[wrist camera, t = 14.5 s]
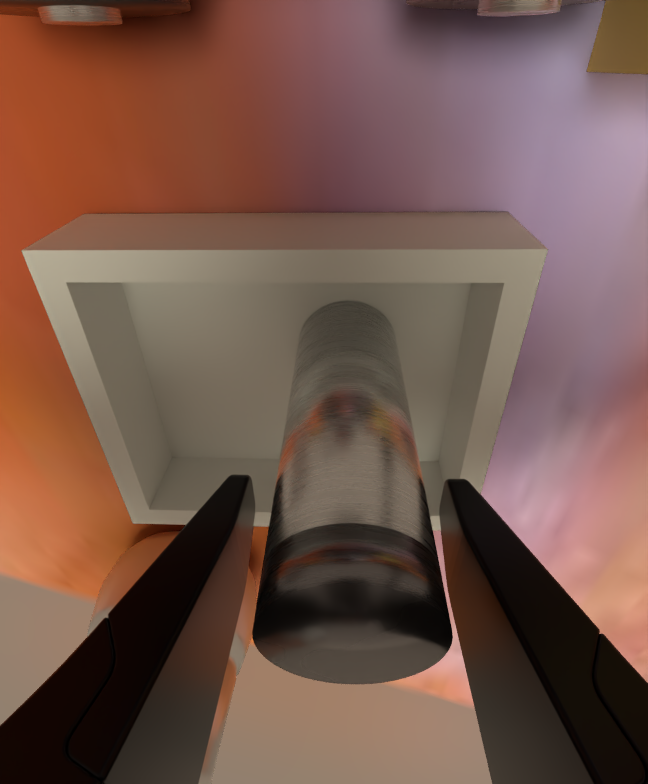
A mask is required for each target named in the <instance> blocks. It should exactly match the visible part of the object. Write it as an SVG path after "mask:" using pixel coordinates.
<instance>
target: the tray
mask: <svg viewBox="0 0 648 784" xmlns="http://www.w3.org/2000/svg"><path fill="white" fill-rule="evenodd" d="M21 251H22V253H23V256H24V258H25V261H26V263H27V265H28V268H29V270H30V273H31V275H32V278H33V280H34V283H35V285H36V287H37V290H38V292H39V295H40V297H41V300H42V302H43V305H44V307H45V309H46V312H47V314H48V317H49V319H50V322H51V324H52V327H53V329H54V332H55V334H56V336H57V339H58V341H59V344H60V346H61V349H62V351H63V354H64V356H65V358H66V361H67V363H68V366H69V368H70V371H71V373H72V376H73V378H74V380H75V383H76V385H77V388H78V390H79V393H80V395H81V398H82V400H83V403H84V405H85V407H86V410H87V412H88V415H89V417H90V420H91V422H92V425H93V427H94V429H95V432H96V434H97V437H98V439H99V442H100V444H101V447H102V449H103V451H104V454H105V456H106V459H107V461H108V464H109V466H110V469H111V471H112V474H113V476H114V478H115V481H116V483H117V486H118V488H119V491H120V493H121V496H122V498H123V500H124V503H125V505H126V508H127V510H128V513H129V515H130V518H131V520H132V522H133V524H175V525H186V524H187V523H188V522H189V521H190V520H191V519H192V517H193V516H194V515H195V514H196V513H197V512H198V511H199V509H200V508H201V507H202V506H203V505H204V504H205V503H206V501H207V500H208V499H209V498H210V497H211V496H212V495H213V493H214V492H215V491H216V490H217V489H218V488H219V487H220V486H221V484H222V483H223V482H224V481H225V480H226V479H227V478H228V477H229V476H230V475H233V474H238V475H249V476H250V477H251V479H252V484H253V491H254V497H255V518H254V526H264V527H269V524H270V517H271V511H272V505H273V498H274V492H275V486H276V480H277V473H278V467H279V461H280V455H281V448H282V442H283V436H284V429H285V423H286V417H287V411H288V404H289V398H290V392H291V385H292V379H293V373H294V367H295V360H296V354H297V348H298V342H299V336H300V332H301V329H302V327H303V325H304V323H305V321H306V320H307V319H308V317H309V316H310V315H311V314H312V313H314V312H315V311H316V310H317V309H319V308H321V307H322V306H325V305H327V304H329V303H333V302H337V301H345V300H350V301H358V302H363V303H366V304H368V305H371V306H373V307H374V308H376V309H378V310H379V311H380V312H381V313H383V314H384V315H385V316H386V318H387V319H388V320H389V322H390V323H391V325H392V327H393V329H394V333H395V337H396V342H397V347H398V353H399V358H400V363H401V368H402V373H403V379H404V384H405V389H406V394H407V399H408V405H409V410H410V415H411V420H412V425H413V431H414V436H415V441H416V446H417V451H418V457H419V462H420V467H421V472H422V477H423V483H424V488H425V493H426V498H427V503H428V509H429V514H430V519H431V524H432V529H433V530H441V526H440V517H439V507H440V501H441V497H442V492H443V487H444V483H445V481H446V480H447V479H466V480H468V481H469V482H470V483H471V484H472V485H473V487H474V488H475V489H476V490H477V491H478V492H479V493H480V494H481V491H482V487H483V483H484V480H485V476H486V473H487V469H488V465H489V462H490V458H491V454H492V451H493V447H494V444H495V440H496V436H497V433H498V429H499V425H500V422H501V418H502V415H503V411H504V407H505V404H506V400H507V396H508V393H509V389H510V385H511V382H512V378H513V375H514V371H515V367H516V364H517V360H518V356H519V353H520V349H521V346H522V342H523V338H524V335H525V331H526V327H527V324H528V320H529V317H530V313H531V309H532V306H533V302H534V298H535V295H536V291H537V287H538V284H539V280H540V277H541V273H542V269H543V266H544V262H545V258H546V255H547V251H548V249H547V248H546V247H545V246H544V245H543V244H542V243H541V242H540V241H539V240H537V239H536V238H535V237H534V236H533V235H532V234H531V233H530V232H529V231H528V230H527V229H526V228H525V227H523V226H522V225H521V224H520V223H519V222H518V221H517V220H516V219H515V218H514V217H513V216H512V215H511V214H510V213H508V212H334V213H145V214H83V215H81V216H79V217H78V218H76V219H74V220H73V221H71V222H69V223H67V224H66V225H64V226H62V227H61V228H59V229H57V230H55V231H54V232H52V233H50V234H49V235H47V236H45V237H43V238H42V239H40V240H38V241H37V242H35V243H33V244H31V245H30V246H28V247H26V248H25V249H23V250H21Z"/></svg>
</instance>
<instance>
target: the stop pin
mask: <svg viewBox="0 0 648 784" xmlns="http://www.w3.org/2000/svg"><path fill="white" fill-rule="evenodd" d="M252 635H253V640H254V643H255V645H256V647H257V649H258V650H259V652H260V653H261V654H262V655H263V656H264V657H265V658H266V659H268V660H269V661H270V662H272V663H273V664H275V665H276V666H278V667H280V668H282V669H284V670H286V671H288V672H290V673H293V674H296V675H298V676H302V677H305V678H309V679H313V680H317V681H323V682H329V683H338V684H373V683H382V682H388V681H394V680H398V679H402V678H406V677H409V676H412V675H415V674H417V673H420V672H422V671H424V670H426V669H428V668H430V667H431V666H433V665H434V664H436V663H437V662H438V661H440V660H441V659H442V658H443V657H444V656H445V654H446V653H447V652H448V650H449V648H450V646H451V644H452V638H453V636H452V628H451V623H450V618H449V613H448V607H447V602H446V597H445V592H444V587H443V581H442V576H441V571H440V566H439V561H438V555H437V550H436V545H435V540H434V535H433V529H432V524H431V519H430V514H429V509H428V503H427V498H426V493H425V488H424V483H423V477H422V472H421V467H420V462H419V457H418V451H417V446H416V441H415V436H414V431H413V425H412V420H411V415H410V410H409V405H408V399H407V394H406V389H405V384H404V379H403V373H402V368H401V363H400V358H399V353H398V347H397V342H396V337H395V333H394V329H393V327H392V325H391V323H390V322H389V320H388V319H387V318H386V316H385V315H384V314H383V313H381V312H380V311H379V310H378V309H376V308H374V307H373V306H371V305H368V304H366V303H363V302H358V301H350V300H345V301H337V302H333V303H329V304H327V305H325V306H322V307H321V308H319V309H317V310H316V311H315V312H314V313H312V314H311V315H310V316H309V317H308V319H307V320H306V321H305V323H304V325H303V327H302V329H301V332H300V336H299V342H298V348H297V354H296V360H295V367H294V373H293V379H292V385H291V392H290V398H289V404H288V411H287V417H286V423H285V429H284V436H283V442H282V448H281V455H280V461H279V467H278V473H277V480H276V486H275V492H274V498H273V505H272V511H271V517H270V524H269V530H268V536H267V542H266V549H265V555H264V561H263V568H262V574H261V580H260V586H259V593H258V599H257V605H256V612H255V618H254V624H253V630H252Z"/></svg>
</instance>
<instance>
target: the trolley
mask: <svg viewBox="0 0 648 784" xmlns="http://www.w3.org/2000/svg"><path fill="white" fill-rule="evenodd" d="M601 1H609V0H406V3H407V4H408V5H411V6H415V7H423V8H435V9H478V12H477V15H478V16H496V17H498V16H528V15H541V14H550V13H557V12H560V7H561V5H573V4H583V3H593V2H601ZM190 10H191V7H190V0H0V14H3V15H18V16H37V17H40V18H41V21H42V23H44V24H53V25H79V26H96V25H118V24H123V21H122V18H124V17H149V16H164V15H173V14H180V13H185V12H188V11H190Z"/></svg>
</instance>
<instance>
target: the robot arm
mask: <svg viewBox="0 0 648 784" xmlns="http://www.w3.org/2000/svg"><path fill="white" fill-rule="evenodd" d="M439 517H440V526H441V535H442V544H443V553H444V562H445V571H446V580H447V587H448V593H449V598H450V603H451V607H452V611H453V616H454V620H455V624H456V629H457V633H458V637H459V642H460V646H461V650H462V655H463V659H464V663H465V668H466V672H467V676H468V681H469V685H470V689H471V694H472V698H473V702H474V706H475V711H476V715H477V719H478V724H479V728H480V732H481V737H482V741H483V745H484V750H485V754H486V758H487V763H488V767H489V771H490V776H491V780H492V784H648V683H647V682H646V681H645V680H644V679H643V677H642V676H641V675H640V674H639V673H638V672H637V671H636V670H635V669H634V668H633V667H632V665H631V664H630V663H629V662H628V661H627V660H626V659H625V658H624V657H623V656H622V655H621V653H620V652H619V651H618V650H617V649H616V648H615V647H614V645H613V644H612V643H611V642H610V641H609V640H608V639H607V638H606V636H605V635H604V634H599V632H600V631H599V629H598V628H597V626H596V625H595V624H594V623H593V622H592V621H591V620H590V618H589V617H588V616H587V615H586V614H585V613H584V612H583V610H582V609H581V608H580V607H579V606H578V605H577V604H576V603H575V601H574V600H573V599H572V598H571V597H570V596H569V595H568V593H567V592H566V591H565V590H564V589H563V588H562V587H561V585H560V584H559V583H558V582H557V581H556V580H555V579H554V577H553V576H552V575H551V574H550V573H549V572H548V571H547V570H546V568H545V567H544V566H543V565H542V564H541V563H540V562H539V560H538V559H537V558H536V557H535V556H534V555H533V554H532V552H531V551H530V550H529V549H528V548H527V547H526V546H525V545H524V543H523V542H522V541H521V540H520V539H519V538H518V537H517V535H516V534H515V533H514V532H513V531H512V530H511V529H510V527H509V526H508V525H507V524H506V523H505V522H504V521H503V519H502V518H501V517H500V516H499V515H498V514H497V513H496V512H495V510H494V509H493V508H492V507H491V506H490V505H489V504H488V502H487V501H486V500H485V499H484V498H483V497H482V496H481V494H480V493H479V492H478V491H477V490H476V489H475V488H474V487H473V485H472V484H471V483H470V482H469V481H468V480H466V479H447V480H446V481H445V483H444V487H443V492H442V497H441V501H440V507H439ZM254 518H255V497H254V491H253V484H252V479H251V477H250V476H249V475H238V474H233V475H230V476H229V477H228V478H227V479H226V480H225V481H224V482H223V483H222V484H221V486H220V487H219V488H218V489H217V490H216V491H215V492H214V493H213V495H212V496H211V497H210V498H209V499H208V500H207V501H206V503H205V504H204V505H203V506H202V507H201V508H200V509H199V511H198V512H197V513H196V514H195V515H194V516H193V517H192V519H191V520H190V521H189V522H188V523H187V524H186V525H185V527H184V528H183V529H182V530H181V531H180V532H179V533H178V535H177V536H176V537H175V538H174V539H173V540H172V541H171V542H170V544H169V545H168V546H167V547H166V548H165V549H164V550H163V552H162V553H161V554H160V555H159V556H158V557H157V558H156V560H155V561H154V562H153V563H152V564H151V565H150V566H149V568H148V569H147V570H146V571H145V572H144V573H143V574H142V576H141V577H140V578H139V579H138V580H137V581H136V582H135V584H134V585H133V586H132V587H131V588H130V589H129V590H128V592H127V593H126V594H125V595H124V596H123V597H122V598H121V599H120V601H119V602H118V603H117V604H116V605H115V606H114V607H113V609H112V610H111V611H110V612H109V613H108V618H107V617H105V618H104V619H103V620H102V621H101V622H100V623H99V624H98V625H97V627H96V628H95V629H94V630H93V631H92V632H91V633H90V635H89V636H88V637H87V638H86V639H85V640H84V641H83V642H82V643H81V645H80V646H79V647H78V648H77V649H76V650H75V651H74V652H73V653H72V654H71V655H70V656H69V658H68V659H67V660H66V661H65V662H64V663H63V664H62V665H61V666H60V667H59V668H58V669H57V670H56V671H55V672H54V673H53V674H52V675H51V676H50V677H49V678H48V679H47V680H46V681H45V682H44V683H43V684H42V685H41V686H40V687H39V688H38V689H37V690H36V691H35V692H34V693H33V694H32V695H31V696H30V697H29V698H28V699H27V700H26V701H25V702H24V703H23V704H22V705H21V706H20V707H19V708H18V709H17V710H16V711H15V712H14V713H13V714H12V715H11V716H10V717H9V718H8V719H7V720H6V721H5V722H4V723H2V724H1V725H0V784H198V783H199V779H200V775H201V771H202V767H203V763H204V758H205V754H206V750H207V746H208V742H209V738H210V734H211V729H212V725H213V721H214V717H215V713H216V709H217V705H218V700H219V696H220V692H221V688H222V684H223V680H224V675H225V671H226V667H227V663H228V659H229V655H230V651H231V646H232V642H233V638H234V634H235V630H236V626H237V622H238V617H239V613H240V609H241V605H242V601H243V597H244V592H245V587H246V582H247V575H248V567H249V559H250V551H251V543H252V534H253V526H254Z"/></svg>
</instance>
